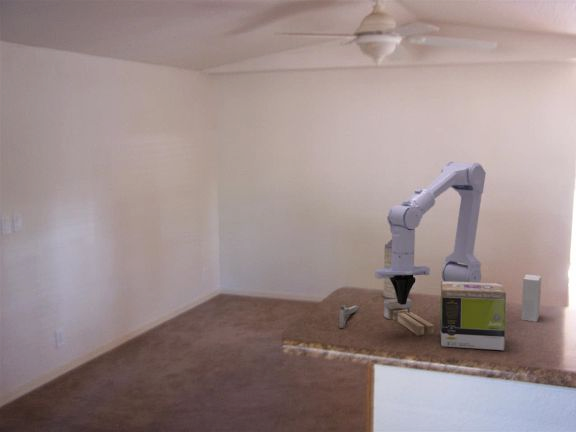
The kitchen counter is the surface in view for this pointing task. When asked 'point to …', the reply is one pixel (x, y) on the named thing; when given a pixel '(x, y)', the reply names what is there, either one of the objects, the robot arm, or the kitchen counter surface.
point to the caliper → (345, 314)
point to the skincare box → (531, 298)
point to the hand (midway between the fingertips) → (401, 303)
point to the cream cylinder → (388, 286)
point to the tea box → (472, 315)
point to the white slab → (395, 306)
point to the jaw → (410, 323)
